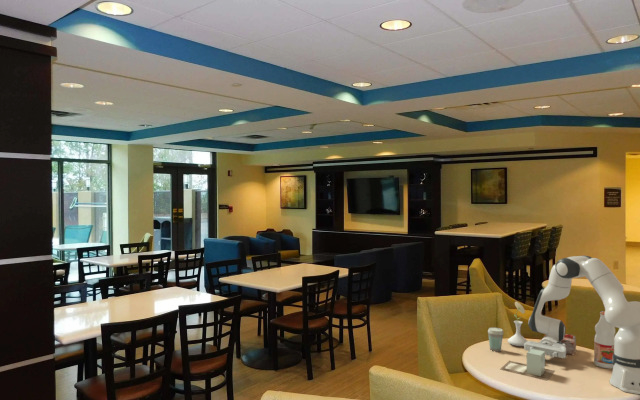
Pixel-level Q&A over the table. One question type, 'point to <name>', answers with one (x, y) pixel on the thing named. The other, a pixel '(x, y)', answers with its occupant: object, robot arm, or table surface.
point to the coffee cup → (495, 339)
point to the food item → (569, 344)
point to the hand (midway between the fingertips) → (541, 353)
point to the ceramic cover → (535, 362)
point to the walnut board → (525, 370)
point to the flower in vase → (518, 329)
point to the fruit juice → (604, 343)
